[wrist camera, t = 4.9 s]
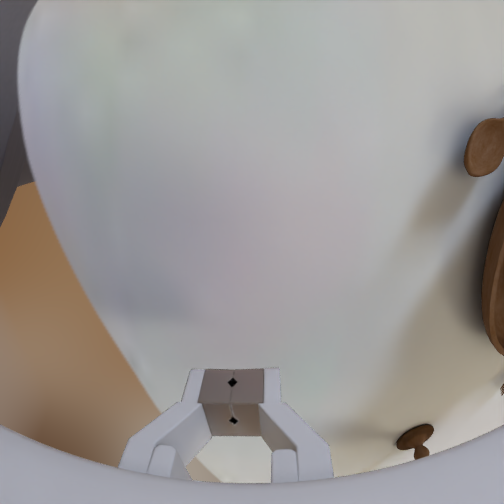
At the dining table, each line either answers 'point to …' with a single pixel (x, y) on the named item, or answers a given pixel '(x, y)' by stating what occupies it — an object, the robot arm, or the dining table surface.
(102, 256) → the dining table surface
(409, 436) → the place setting
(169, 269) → the dining table surface
